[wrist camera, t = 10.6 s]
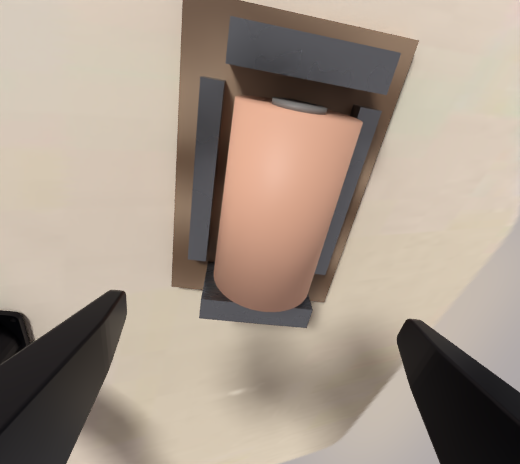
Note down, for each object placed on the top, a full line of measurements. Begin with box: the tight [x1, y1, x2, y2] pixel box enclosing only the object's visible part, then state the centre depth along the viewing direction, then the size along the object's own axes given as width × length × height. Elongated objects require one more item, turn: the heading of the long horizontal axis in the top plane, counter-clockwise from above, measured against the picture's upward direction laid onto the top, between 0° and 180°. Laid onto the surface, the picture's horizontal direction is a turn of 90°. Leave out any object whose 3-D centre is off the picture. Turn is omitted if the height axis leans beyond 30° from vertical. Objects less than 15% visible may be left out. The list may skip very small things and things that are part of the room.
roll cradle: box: [172, 0, 419, 328], centre depth 18 cm, size 18×12×5 cm, turn 170°
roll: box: [214, 95, 363, 312], centre depth 16 cm, size 10×6×6 cm, turn 170°
